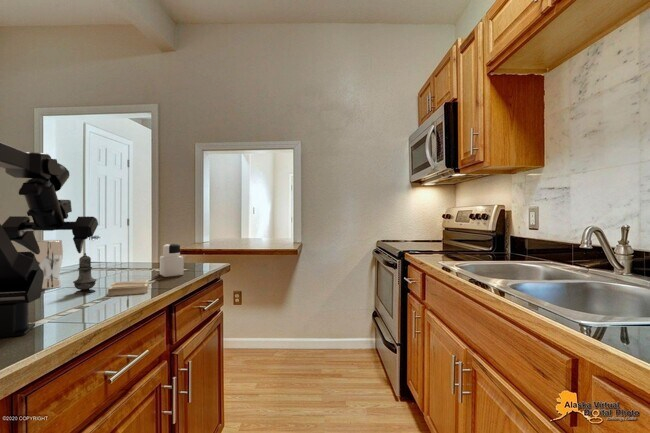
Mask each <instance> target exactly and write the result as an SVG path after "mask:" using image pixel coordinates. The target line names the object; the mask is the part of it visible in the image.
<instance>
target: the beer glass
mask: <svg viewBox="0 0 650 433" xmlns="http://www.w3.org/2000/svg"><path fill="white" fill-rule="evenodd" d="M36 241H37V243H38V246H39V249H40V253H39V254H35V253H34V255H35V257H36V260H37V261H38V262H39V263H40V264H39V266H40V268H41V269H42V270H43V273H44V279H43V285H42V290H50V289H56V288H60V287H61V286H62V284H61V279H60V272H61V267H62V263H63V252H64V251H63V241H62V240H61V239H48V240H47V239H45V240H36Z"/></svg>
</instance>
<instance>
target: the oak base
mask: <svg viewBox="0 0 650 433" xmlns="http://www.w3.org/2000/svg"><path fill="white" fill-rule="evenodd" d="M149 281H150V279H149V280H146V279H144V280H130V281H129V280H128V281H118V282H117V281H116V282H112V283H111V284H110V286H109V287H108V289H107V296H108V297H112V296H114V297H115V296H124V295H136V294H138V295H139V294H147V293H148V291H149V287H150V282H149Z"/></svg>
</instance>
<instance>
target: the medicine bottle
mask: <svg viewBox="0 0 650 433" xmlns="http://www.w3.org/2000/svg"><path fill="white" fill-rule="evenodd" d="M184 262H185V261H184V256H181V245H179V243H177V244H176V243H167V244H164V245H163V246H162V255H161V256H159V275H160V276H162V277H164V278H166V277H178V276H183V275H184V266H185V265H184Z"/></svg>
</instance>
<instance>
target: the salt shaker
mask: <svg viewBox="0 0 650 433" xmlns="http://www.w3.org/2000/svg"><path fill="white" fill-rule="evenodd" d="M78 260H79V262H78V265H79V266H78V268H77V270H78V277H77V279H76V280H73V281H72V283H73V285H74V288H75V289H77V290H76V291H75V292H74V293H73V294H74V295H78V296H79V295H89V294H95V293H96V289H95V290H94V289H92V288H94V286H96V283H97V281H98V280H97V278H94V277H93V276H92V269H93V267H92V262H91V261H92V258H91V257H90V256H88V255H87V253H86V252H84V253H83V255H82V256H81V257H79V259H78Z"/></svg>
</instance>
